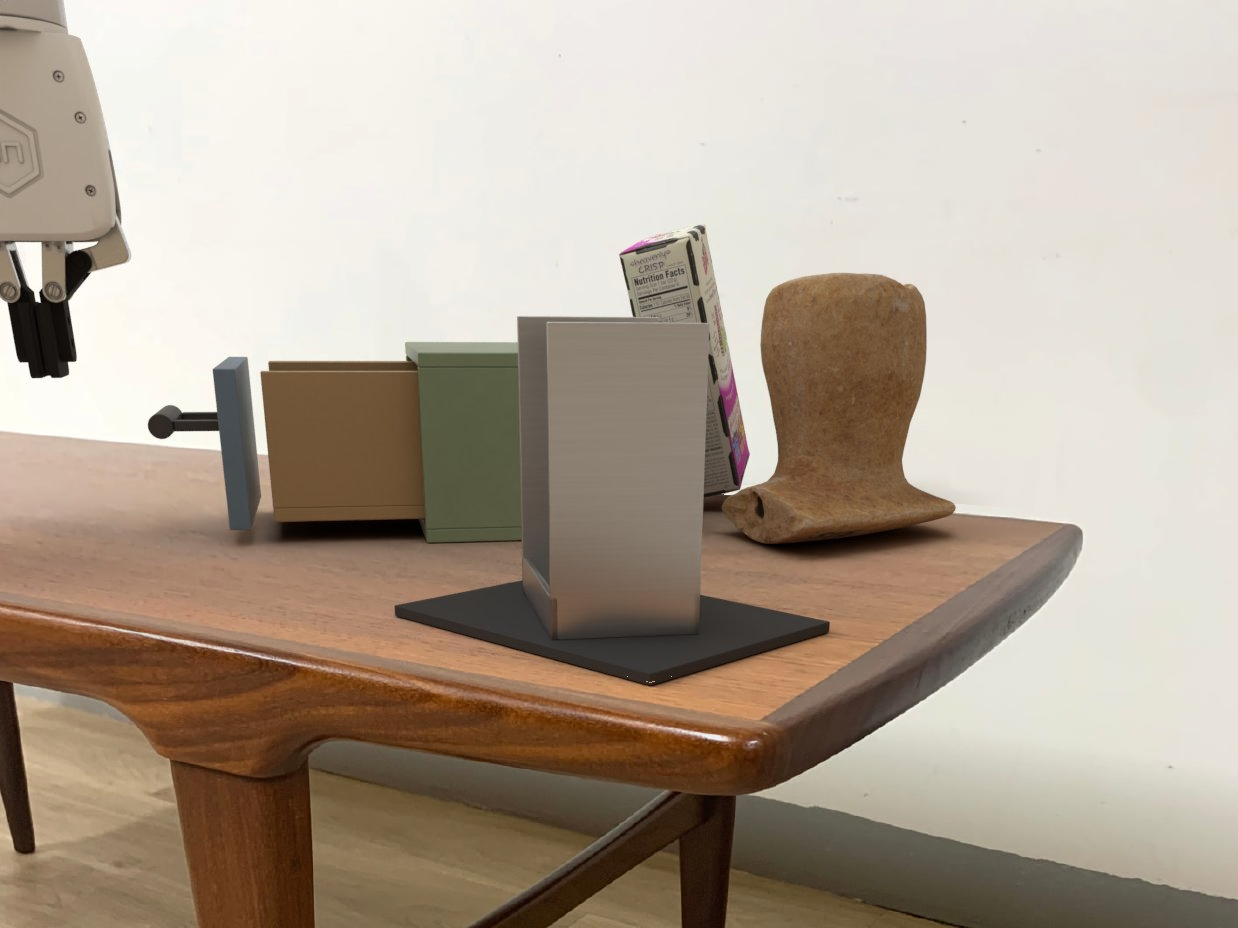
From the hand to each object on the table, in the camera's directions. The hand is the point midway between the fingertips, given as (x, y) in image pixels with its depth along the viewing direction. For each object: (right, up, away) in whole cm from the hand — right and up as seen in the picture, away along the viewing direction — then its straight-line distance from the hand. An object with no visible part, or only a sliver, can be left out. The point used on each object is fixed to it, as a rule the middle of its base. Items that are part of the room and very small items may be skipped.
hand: (50, 375), depth 75 cm
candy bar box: (+40, -1, +18) cm, 43 cm away
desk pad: (+33, -17, -16) cm, 40 cm away
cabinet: (+28, -6, +9) cm, 30 cm away
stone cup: (+46, -8, +6) cm, 47 cm away
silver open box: (+33, -17, -16) cm, 40 cm away
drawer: (+14, -6, +6) cm, 17 cm away
